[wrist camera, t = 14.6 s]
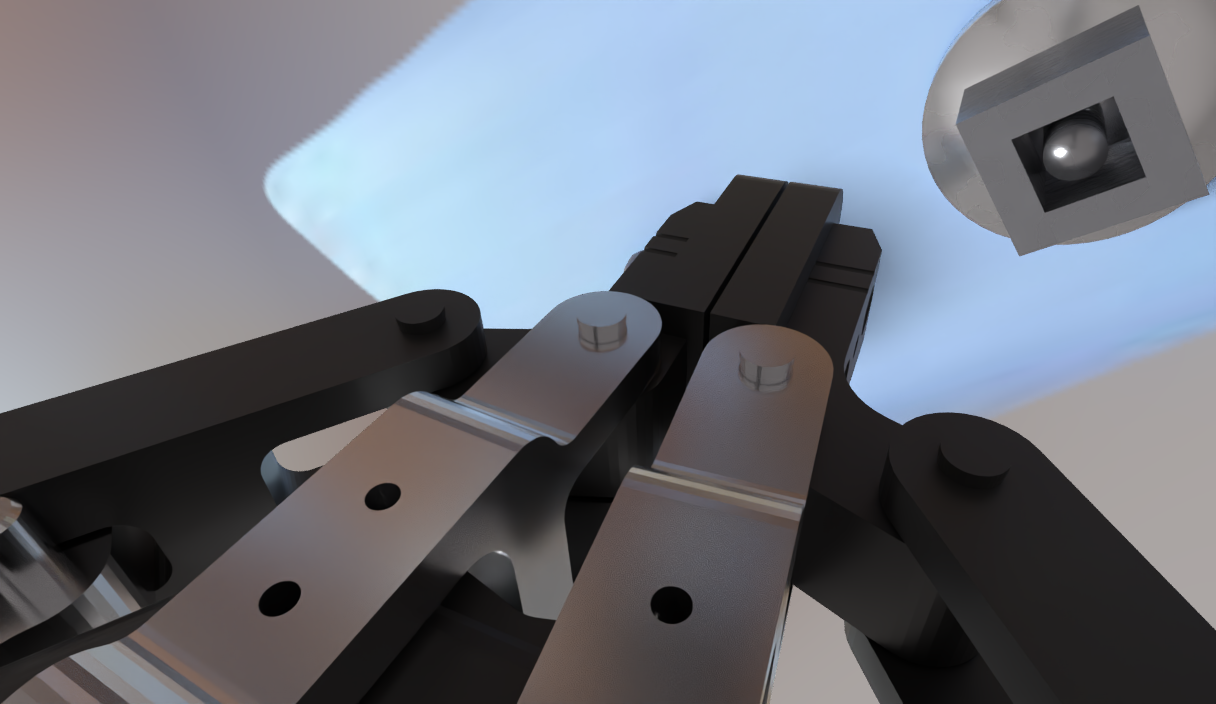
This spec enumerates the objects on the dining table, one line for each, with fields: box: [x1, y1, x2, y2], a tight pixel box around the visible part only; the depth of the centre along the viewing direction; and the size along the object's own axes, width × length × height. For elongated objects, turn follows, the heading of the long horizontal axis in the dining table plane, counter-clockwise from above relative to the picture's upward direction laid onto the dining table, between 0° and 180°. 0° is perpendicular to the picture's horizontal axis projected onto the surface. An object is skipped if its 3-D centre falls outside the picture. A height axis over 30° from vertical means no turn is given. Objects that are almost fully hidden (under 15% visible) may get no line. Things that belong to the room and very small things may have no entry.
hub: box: [922, 0, 1216, 245], centre depth 28 cm, size 11×11×5 cm
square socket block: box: [956, 5, 1209, 256], centre depth 27 cm, size 6×6×4 cm
